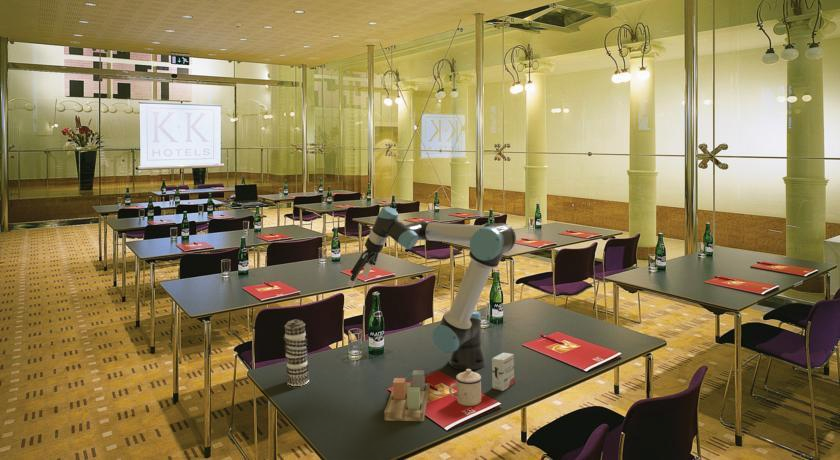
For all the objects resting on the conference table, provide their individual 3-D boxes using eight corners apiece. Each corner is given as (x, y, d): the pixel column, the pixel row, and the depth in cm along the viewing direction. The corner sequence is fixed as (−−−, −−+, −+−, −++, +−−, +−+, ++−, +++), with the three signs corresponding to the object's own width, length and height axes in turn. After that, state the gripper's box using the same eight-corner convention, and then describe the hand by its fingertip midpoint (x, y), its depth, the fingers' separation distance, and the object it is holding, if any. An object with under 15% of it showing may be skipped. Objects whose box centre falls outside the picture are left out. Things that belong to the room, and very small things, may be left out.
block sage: (420, 404, 192) (420, 387, 191) (419, 409, 188) (418, 392, 187) (409, 404, 192) (408, 387, 191) (407, 409, 188) (406, 392, 187)
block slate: (424, 386, 206) (424, 370, 206) (423, 390, 203) (423, 374, 202) (414, 386, 207) (413, 370, 206) (412, 390, 203) (412, 374, 202)
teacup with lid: (475, 393, 205) (475, 363, 204) (485, 404, 197) (485, 372, 195) (445, 398, 202) (444, 368, 200) (454, 409, 193) (453, 377, 192)
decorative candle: (289, 378, 225) (285, 318, 222) (312, 377, 225) (309, 317, 221) (283, 387, 216) (279, 325, 212) (307, 387, 216) (303, 324, 212)
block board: (429, 390, 209) (429, 383, 209) (423, 421, 186) (423, 412, 185) (395, 390, 211) (395, 382, 210) (384, 420, 187) (384, 411, 187)
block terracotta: (406, 394, 200) (405, 378, 199) (404, 399, 196) (404, 382, 195) (395, 394, 200) (394, 378, 199) (393, 399, 196) (392, 382, 195)
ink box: (503, 380, 216) (503, 351, 215) (514, 383, 213) (514, 354, 212) (491, 388, 210) (491, 357, 208) (502, 391, 207) (502, 360, 205)
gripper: (381, 229, 247) (363, 267, 255) (355, 243, 224) (336, 285, 232) (395, 237, 245) (376, 276, 253) (370, 253, 223) (350, 295, 231)
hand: (357, 280), depth 243 cm, fingers open, 13 cm apart
